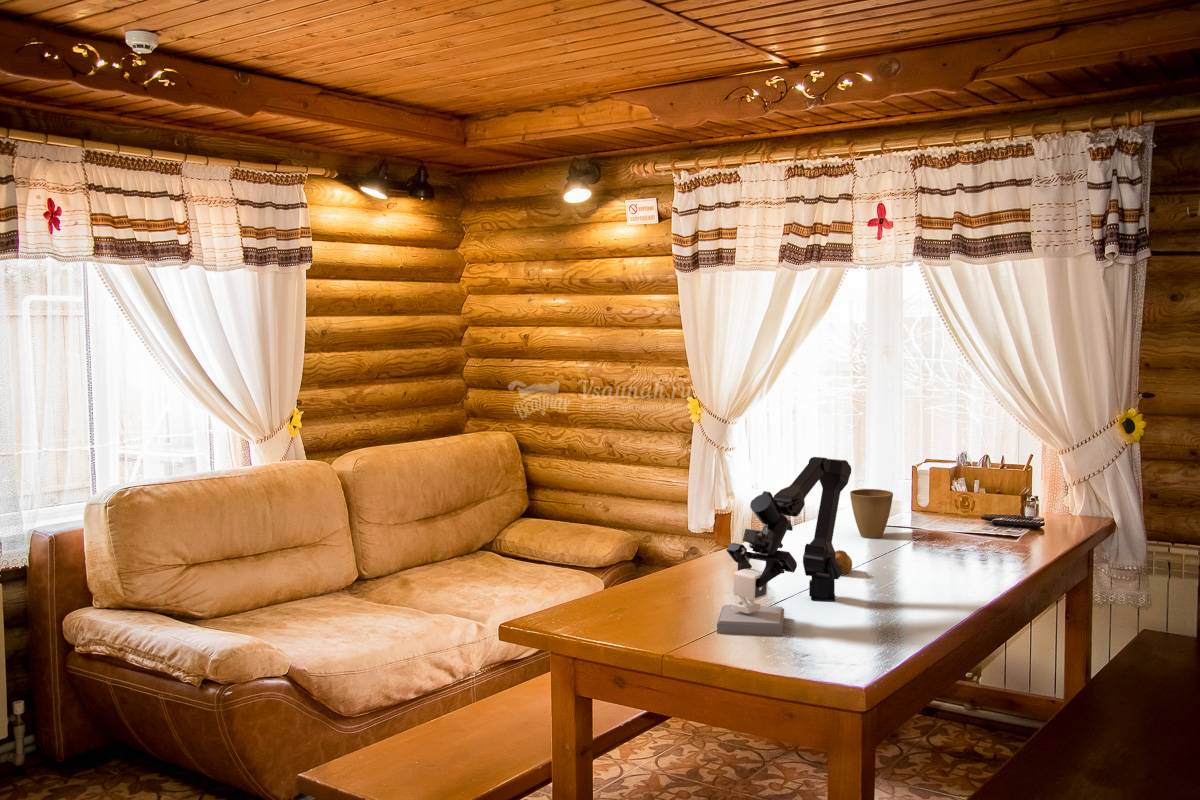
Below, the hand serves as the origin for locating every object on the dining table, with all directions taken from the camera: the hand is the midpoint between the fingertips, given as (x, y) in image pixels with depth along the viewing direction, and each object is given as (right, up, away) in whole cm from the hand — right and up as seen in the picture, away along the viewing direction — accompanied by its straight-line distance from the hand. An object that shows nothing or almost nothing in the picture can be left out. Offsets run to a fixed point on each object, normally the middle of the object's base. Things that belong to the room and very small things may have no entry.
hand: (748, 584), depth 267 cm
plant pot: (+59, -2, +108) cm, 123 cm away
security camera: (0, -7, +2) cm, 7 cm away
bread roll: (+34, -6, +57) cm, 66 cm away
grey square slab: (+1, -11, +2) cm, 11 cm away
